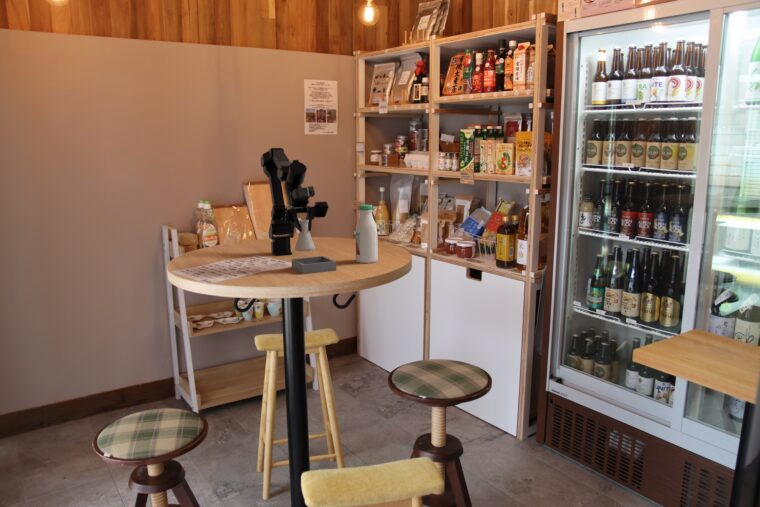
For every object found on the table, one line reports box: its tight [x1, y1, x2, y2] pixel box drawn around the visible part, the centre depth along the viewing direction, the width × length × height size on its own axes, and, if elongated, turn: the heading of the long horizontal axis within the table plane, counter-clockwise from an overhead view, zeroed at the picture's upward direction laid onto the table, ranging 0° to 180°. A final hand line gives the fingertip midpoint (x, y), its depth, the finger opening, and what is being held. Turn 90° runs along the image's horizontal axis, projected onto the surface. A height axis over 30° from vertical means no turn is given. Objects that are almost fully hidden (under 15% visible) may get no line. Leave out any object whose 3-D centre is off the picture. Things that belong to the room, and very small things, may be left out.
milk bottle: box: [355, 204, 379, 264], centre depth 215 cm, size 8×8×20 cm
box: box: [290, 255, 337, 275], centre depth 204 cm, size 12×12×3 cm
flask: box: [294, 219, 316, 252], centre depth 202 cm, size 7×7×10 cm
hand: (305, 230), depth 200 cm, fingers closed on flask, 3 cm apart
